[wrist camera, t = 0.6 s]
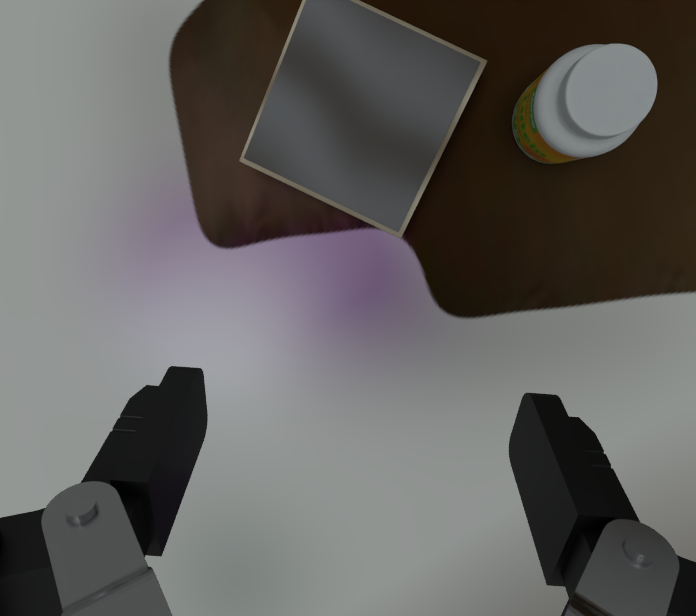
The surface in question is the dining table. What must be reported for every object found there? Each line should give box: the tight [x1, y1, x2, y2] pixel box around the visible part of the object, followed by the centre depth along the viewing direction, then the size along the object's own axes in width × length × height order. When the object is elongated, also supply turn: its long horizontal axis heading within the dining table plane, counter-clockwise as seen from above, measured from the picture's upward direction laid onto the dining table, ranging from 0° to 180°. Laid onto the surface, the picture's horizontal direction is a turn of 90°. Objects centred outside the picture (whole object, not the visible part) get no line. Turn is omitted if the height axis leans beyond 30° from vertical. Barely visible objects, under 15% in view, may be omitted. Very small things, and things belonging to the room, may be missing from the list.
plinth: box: [240, 0, 487, 238], centre depth 33 cm, size 11×11×4 cm
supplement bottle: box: [512, 44, 657, 164], centre depth 29 cm, size 5×5×10 cm
